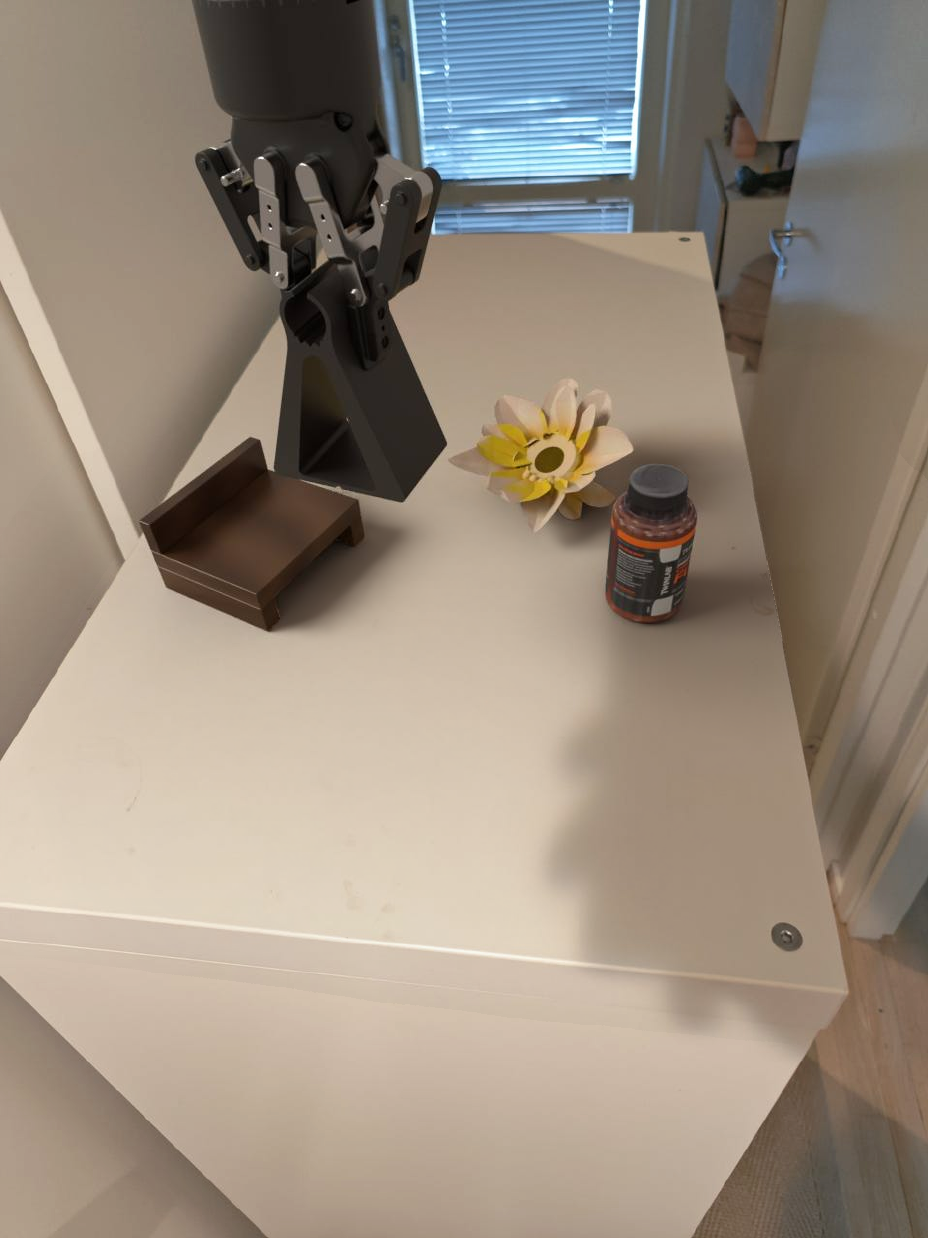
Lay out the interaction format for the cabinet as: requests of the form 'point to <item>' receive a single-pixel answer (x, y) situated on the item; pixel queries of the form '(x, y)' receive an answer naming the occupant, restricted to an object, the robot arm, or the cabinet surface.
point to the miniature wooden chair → (245, 534)
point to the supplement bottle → (650, 545)
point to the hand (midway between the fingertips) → (343, 353)
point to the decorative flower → (548, 452)
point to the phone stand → (349, 401)
